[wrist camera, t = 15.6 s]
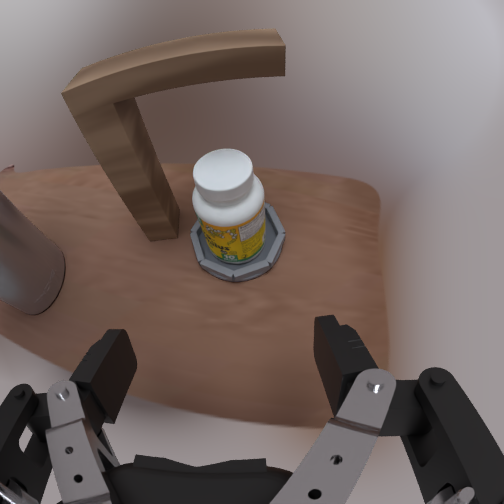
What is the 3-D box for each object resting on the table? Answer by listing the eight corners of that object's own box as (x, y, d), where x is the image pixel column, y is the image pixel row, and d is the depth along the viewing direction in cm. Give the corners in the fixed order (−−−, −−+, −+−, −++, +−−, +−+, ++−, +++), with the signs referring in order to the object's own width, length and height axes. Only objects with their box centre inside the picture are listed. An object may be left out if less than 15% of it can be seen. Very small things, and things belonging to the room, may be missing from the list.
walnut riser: (278, 227, 27) (285, 45, 11) (150, 241, 27) (61, 93, 11) (274, 199, 29) (275, 28, 13) (153, 213, 29) (81, 68, 13)
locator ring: (179, 260, 26) (174, 253, 25) (220, 195, 30) (218, 186, 28) (260, 296, 24) (259, 290, 23) (295, 221, 28) (296, 212, 26)
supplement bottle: (277, 240, 26) (281, 167, 18) (234, 278, 25) (216, 215, 16) (239, 207, 28) (228, 132, 20) (197, 239, 27) (168, 170, 18)
